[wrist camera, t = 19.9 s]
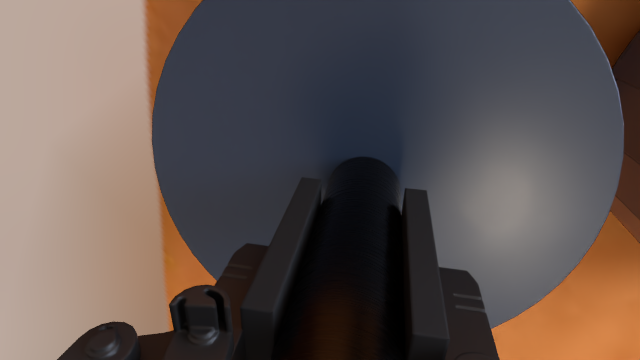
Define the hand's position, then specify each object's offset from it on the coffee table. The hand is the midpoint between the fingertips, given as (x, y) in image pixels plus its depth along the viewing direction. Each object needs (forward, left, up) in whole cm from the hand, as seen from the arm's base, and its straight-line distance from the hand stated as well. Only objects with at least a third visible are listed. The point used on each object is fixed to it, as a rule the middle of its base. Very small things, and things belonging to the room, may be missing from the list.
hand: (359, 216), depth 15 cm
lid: (0, 0, -3) cm, 3 cm away
